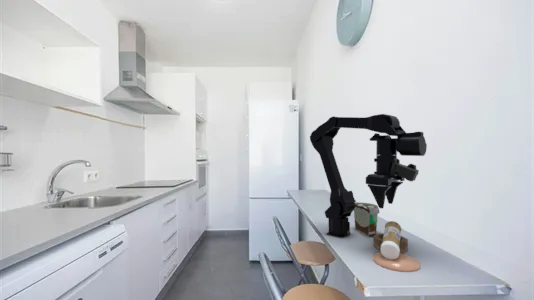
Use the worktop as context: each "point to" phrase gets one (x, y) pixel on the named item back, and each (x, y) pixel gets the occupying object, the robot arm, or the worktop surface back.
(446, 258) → the worktop surface
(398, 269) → the peach round disc
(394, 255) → the sprinkles bottle
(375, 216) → the food container
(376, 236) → the ring
